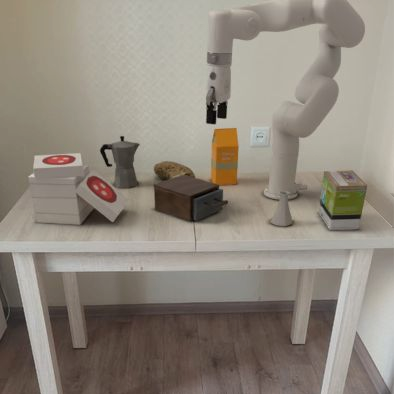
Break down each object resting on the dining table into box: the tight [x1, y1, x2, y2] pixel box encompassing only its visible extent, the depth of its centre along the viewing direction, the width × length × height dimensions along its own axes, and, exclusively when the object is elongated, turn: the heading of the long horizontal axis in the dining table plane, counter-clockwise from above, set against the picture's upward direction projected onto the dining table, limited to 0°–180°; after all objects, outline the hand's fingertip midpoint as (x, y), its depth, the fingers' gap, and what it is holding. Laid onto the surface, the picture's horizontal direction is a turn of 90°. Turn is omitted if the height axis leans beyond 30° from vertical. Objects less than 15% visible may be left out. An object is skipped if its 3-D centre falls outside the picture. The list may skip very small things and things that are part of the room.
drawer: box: [192, 188, 229, 221], centre depth 166 cm, size 21×14×7 cm, turn 48°
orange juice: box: [210, 127, 240, 186], centre depth 190 cm, size 8×9×20 cm
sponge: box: [153, 160, 196, 180], centre depth 195 cm, size 13×8×20 cm
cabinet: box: [153, 175, 220, 223], centre depth 169 cm, size 17×15×9 cm
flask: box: [270, 191, 293, 227], centre depth 159 cm, size 7×7×10 cm
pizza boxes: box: [27, 152, 130, 226], centre depth 161 cm, size 19×30×18 cm, turn 83°
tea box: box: [317, 170, 368, 231], centre depth 159 cm, size 15×10×15 cm, turn 3°
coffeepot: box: [99, 135, 141, 189], centre depth 187 cm, size 15×9×18 cm, turn 111°
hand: (216, 121), depth 157 cm, fingers open, 9 cm apart
